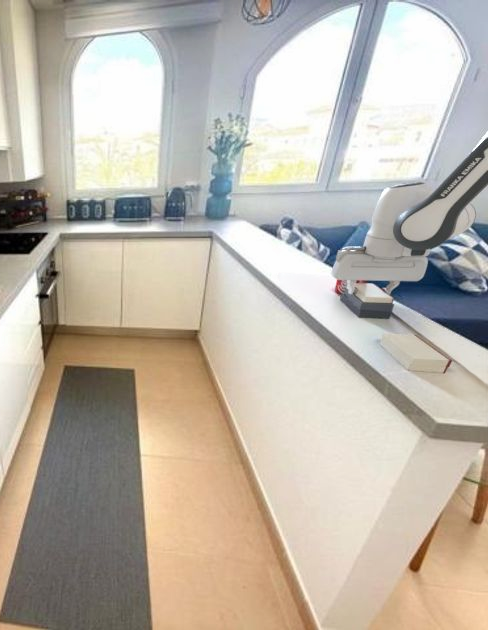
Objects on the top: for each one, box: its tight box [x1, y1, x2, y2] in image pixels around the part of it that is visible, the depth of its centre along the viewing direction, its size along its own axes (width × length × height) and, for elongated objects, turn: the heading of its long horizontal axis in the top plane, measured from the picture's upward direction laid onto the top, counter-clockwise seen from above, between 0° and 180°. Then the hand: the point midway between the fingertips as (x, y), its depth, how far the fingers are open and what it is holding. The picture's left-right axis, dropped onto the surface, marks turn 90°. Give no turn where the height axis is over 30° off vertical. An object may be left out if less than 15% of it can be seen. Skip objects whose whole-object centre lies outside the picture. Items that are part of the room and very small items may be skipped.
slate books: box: [339, 288, 395, 320], centre depth 99 cm, size 8×12×4 cm, turn 165°
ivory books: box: [380, 333, 453, 374], centre depth 77 cm, size 7×11×3 cm, turn 165°
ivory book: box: [346, 282, 395, 304], centre depth 98 cm, size 7×11×2 cm, turn 165°
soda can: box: [334, 279, 368, 297], centre depth 107 cm, size 7×7×12 cm
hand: (368, 294), depth 98 cm, fingers closed on ivory book, 6 cm apart
